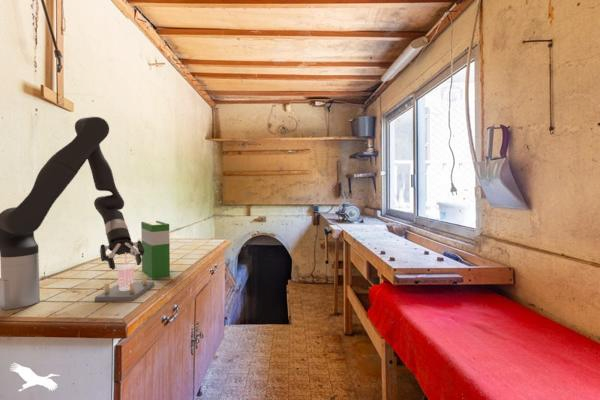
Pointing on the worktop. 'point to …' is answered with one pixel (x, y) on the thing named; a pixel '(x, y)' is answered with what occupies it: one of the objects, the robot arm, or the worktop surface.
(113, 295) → the chassis
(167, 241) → the hardback book
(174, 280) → the worktop surface
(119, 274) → the beverage cup
